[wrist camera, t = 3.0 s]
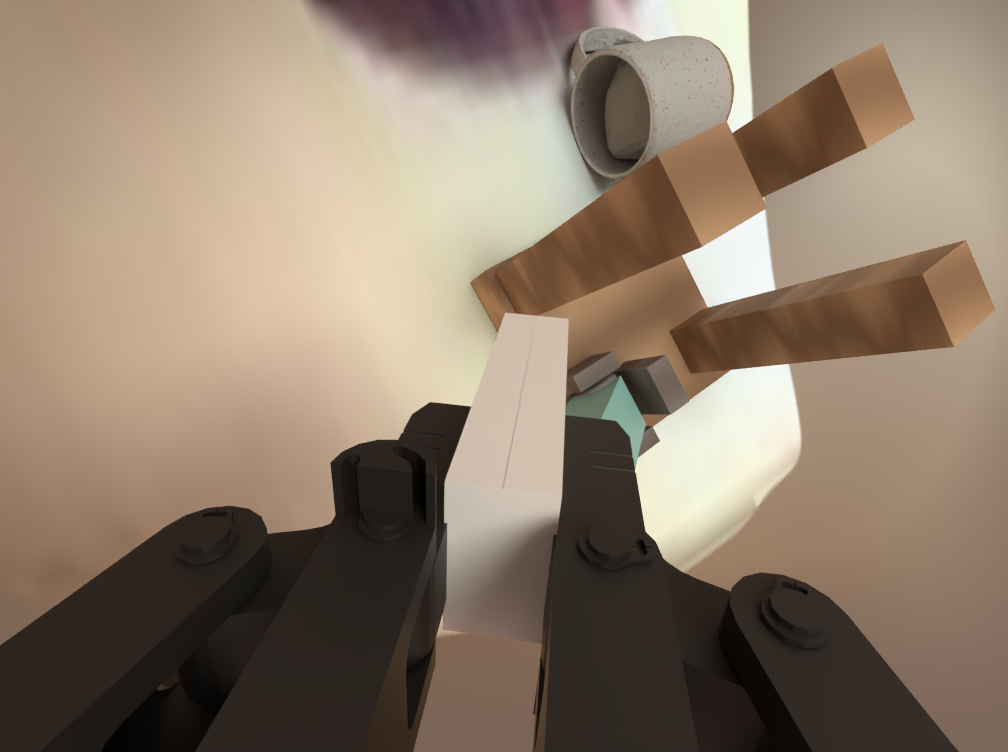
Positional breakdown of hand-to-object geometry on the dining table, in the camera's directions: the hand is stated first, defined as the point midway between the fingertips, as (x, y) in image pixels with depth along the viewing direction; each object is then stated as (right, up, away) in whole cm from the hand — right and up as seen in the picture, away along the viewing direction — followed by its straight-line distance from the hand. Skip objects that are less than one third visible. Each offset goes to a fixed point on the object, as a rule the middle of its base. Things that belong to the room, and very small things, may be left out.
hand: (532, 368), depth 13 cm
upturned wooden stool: (+6, +3, +24) cm, 25 cm away
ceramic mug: (+7, +18, +26) cm, 32 cm away
